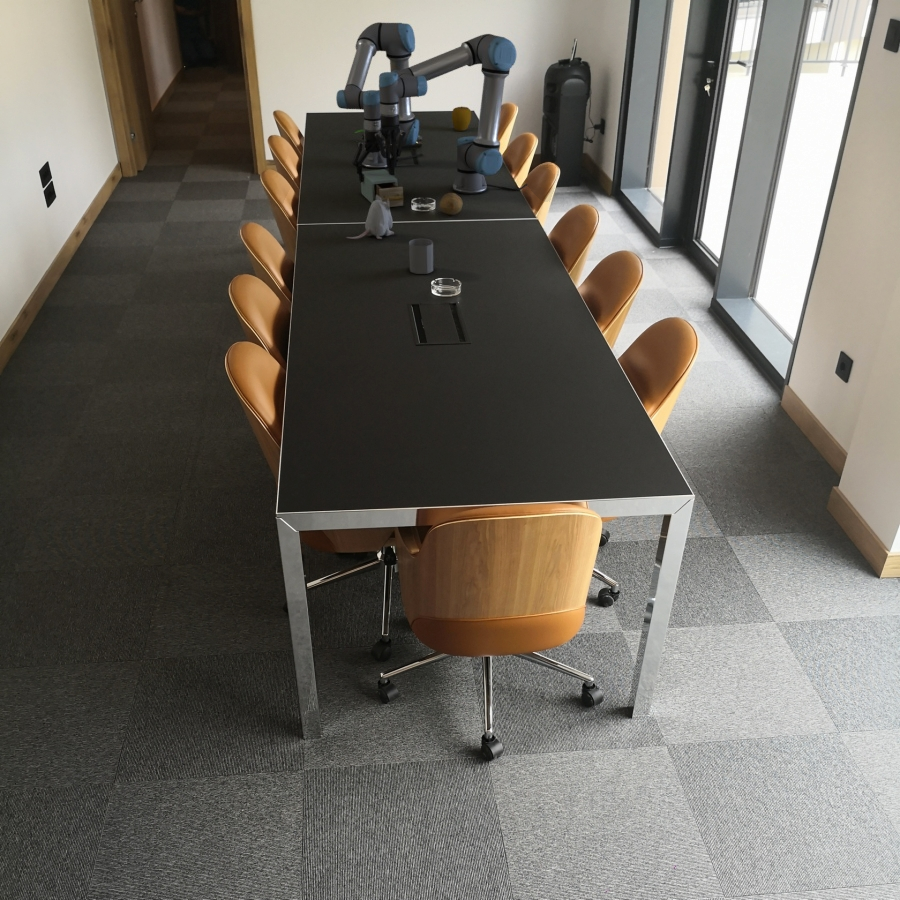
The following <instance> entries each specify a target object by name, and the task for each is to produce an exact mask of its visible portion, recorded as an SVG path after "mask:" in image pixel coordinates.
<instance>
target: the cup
mask: <svg viewBox="0 0 900 900" xmlns="http://www.w3.org/2000/svg"><path fill="white" fill-rule="evenodd" d="M408 253H409V272H411V273H412V274H416V275H426V274H430V273H432V272H434V241H433V240H431V239H428V238H422V237H421V238H420V237H419V238H414V239H411V240H410V241H409V242H408Z"/></svg>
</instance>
